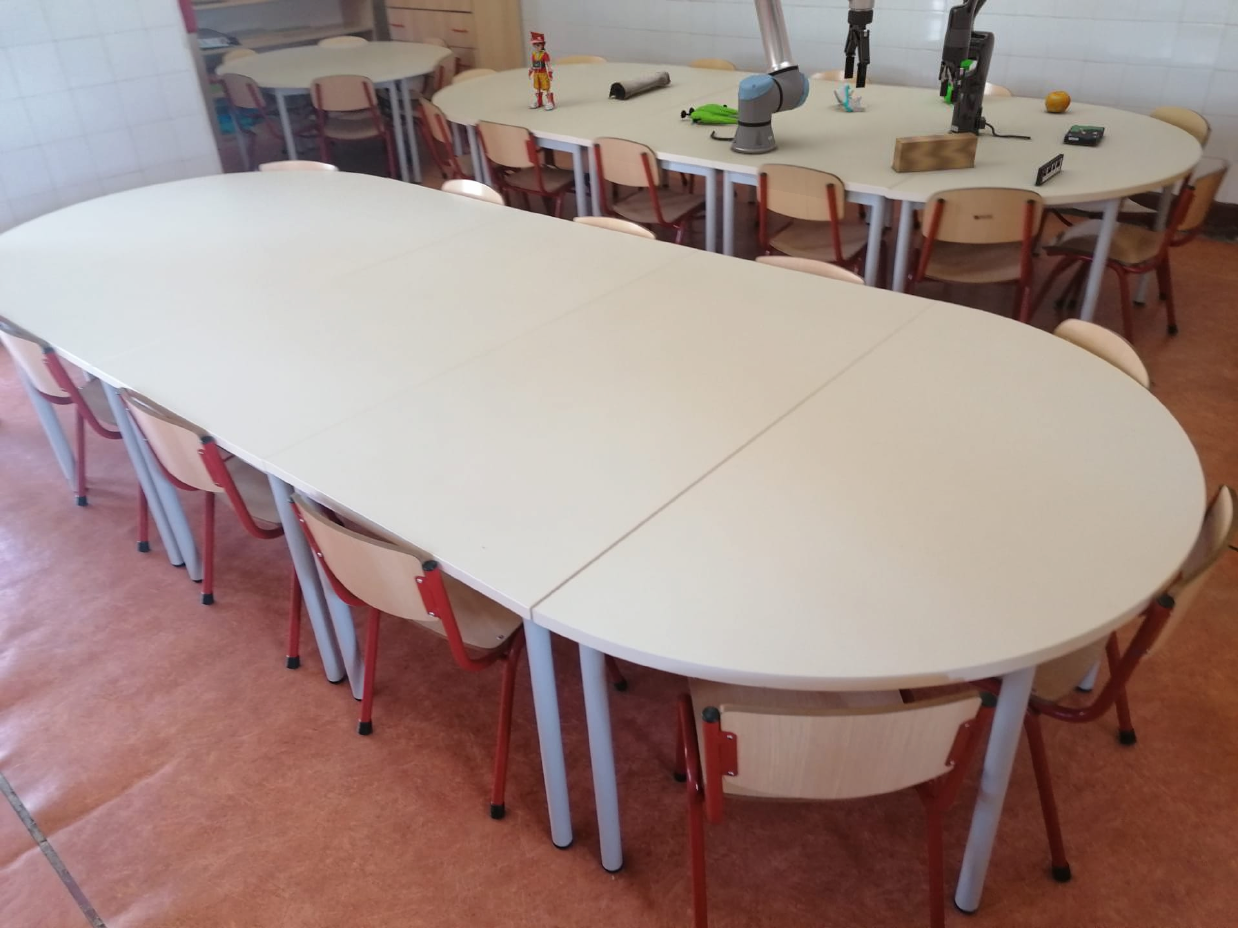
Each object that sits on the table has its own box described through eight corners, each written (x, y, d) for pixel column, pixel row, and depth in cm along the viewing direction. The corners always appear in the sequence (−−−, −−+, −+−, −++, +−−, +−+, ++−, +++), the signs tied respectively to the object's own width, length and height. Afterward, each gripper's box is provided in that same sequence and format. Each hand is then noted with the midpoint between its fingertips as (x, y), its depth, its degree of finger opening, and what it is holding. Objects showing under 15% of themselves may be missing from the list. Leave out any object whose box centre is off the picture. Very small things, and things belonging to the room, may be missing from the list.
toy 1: (525, 109, 381) (517, 32, 364) (534, 104, 388) (527, 28, 371) (550, 110, 377) (543, 32, 360) (559, 105, 384) (553, 28, 367)
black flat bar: (1039, 185, 269) (1043, 168, 266) (1035, 184, 270) (1038, 168, 267) (1060, 170, 279) (1064, 154, 277) (1056, 169, 280) (1060, 153, 277)
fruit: (1041, 103, 332) (1056, 84, 329) (1039, 107, 340) (1054, 87, 337) (1060, 116, 331) (1076, 96, 328) (1058, 119, 339) (1073, 100, 335)
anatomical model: (829, 82, 357) (854, 75, 356) (832, 108, 363) (856, 101, 362) (839, 90, 345) (865, 83, 344) (842, 117, 351) (867, 111, 350)
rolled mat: (651, 76, 408) (662, 61, 399) (662, 93, 408) (674, 79, 400) (605, 92, 391) (616, 77, 383) (617, 110, 391) (628, 95, 383)
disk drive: (1096, 147, 298) (1103, 135, 308) (1098, 138, 296) (1105, 126, 306) (1062, 144, 302) (1070, 132, 312) (1064, 135, 301) (1072, 124, 311)
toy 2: (670, 122, 346) (740, 135, 334) (671, 108, 344) (742, 120, 331) (703, 111, 367) (770, 123, 354) (704, 98, 364) (772, 109, 351)
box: (966, 161, 292) (971, 132, 287) (973, 167, 287) (978, 137, 282) (892, 167, 292) (895, 137, 286) (898, 172, 287) (901, 143, 281)
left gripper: (838, 4, 284) (832, 75, 296) (860, 16, 263) (853, 92, 275) (861, 2, 284) (855, 74, 296) (885, 14, 263) (877, 91, 275)
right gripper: (936, 40, 280) (928, 95, 289) (953, 48, 268) (944, 105, 277) (959, 39, 280) (951, 94, 289) (978, 47, 268) (968, 104, 278)
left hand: (854, 83), depth 286 cm, fingers open, 13 cm apart
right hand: (948, 99), depth 283 cm, fingers open, 8 cm apart
